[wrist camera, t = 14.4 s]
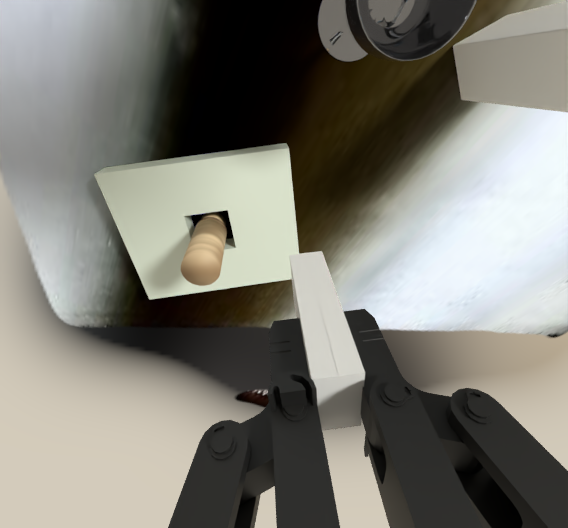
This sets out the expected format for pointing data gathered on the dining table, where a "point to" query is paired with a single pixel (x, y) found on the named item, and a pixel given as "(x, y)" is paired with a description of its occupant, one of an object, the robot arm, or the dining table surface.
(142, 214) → the board
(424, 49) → the wine glass
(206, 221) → the peg
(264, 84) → the dining table surface
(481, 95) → the milk
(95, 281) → the dining table surface
